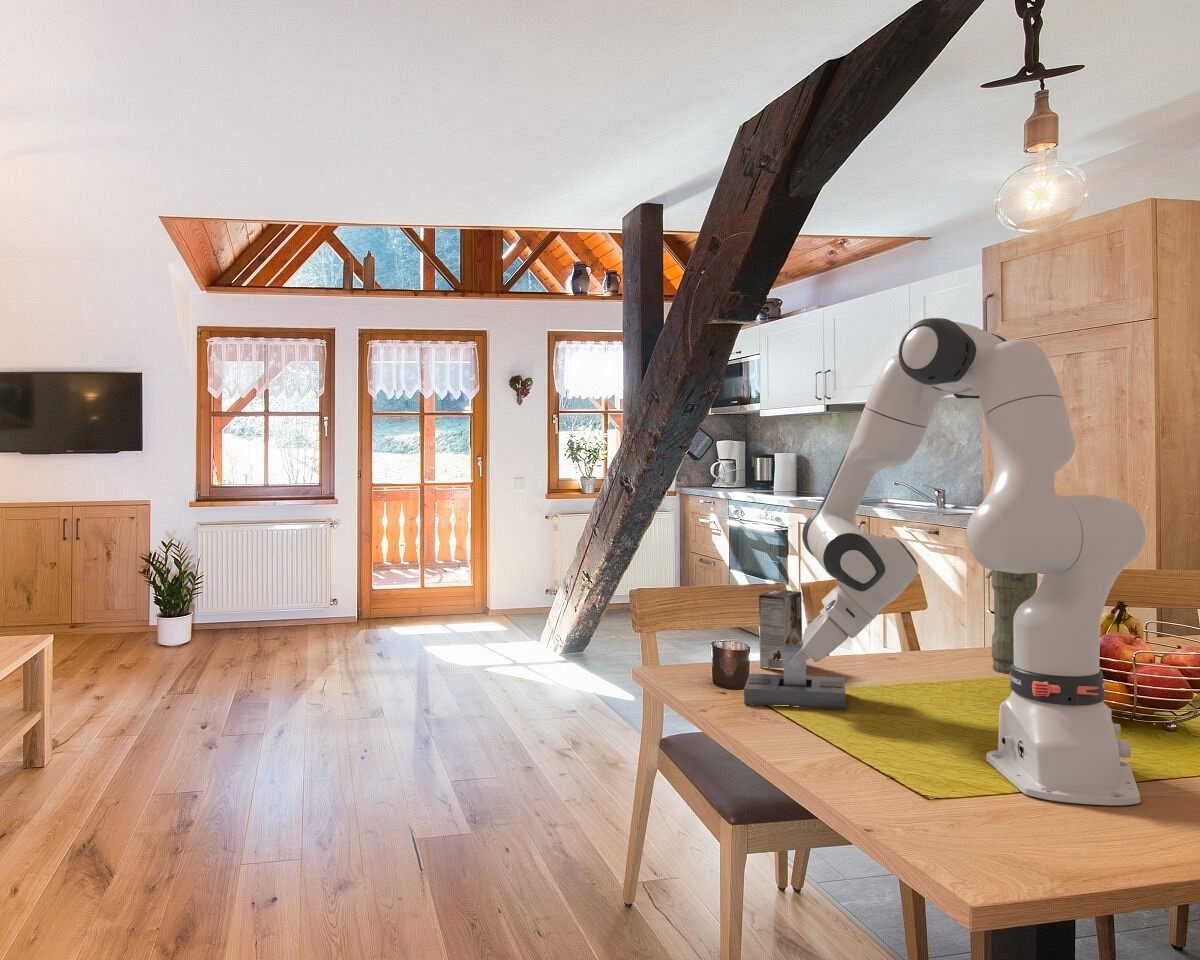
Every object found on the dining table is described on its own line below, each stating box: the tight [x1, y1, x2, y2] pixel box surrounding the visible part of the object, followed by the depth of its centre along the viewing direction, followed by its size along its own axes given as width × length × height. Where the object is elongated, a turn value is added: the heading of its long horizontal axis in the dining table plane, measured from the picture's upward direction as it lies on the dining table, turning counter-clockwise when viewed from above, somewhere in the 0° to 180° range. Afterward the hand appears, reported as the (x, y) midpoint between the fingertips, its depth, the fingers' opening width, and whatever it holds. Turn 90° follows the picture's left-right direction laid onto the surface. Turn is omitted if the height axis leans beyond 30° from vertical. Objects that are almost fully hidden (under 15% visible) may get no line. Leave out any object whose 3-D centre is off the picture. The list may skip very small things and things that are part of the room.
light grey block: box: [783, 643, 807, 687], centre depth 167 cm, size 4×4×9 cm
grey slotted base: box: [743, 673, 847, 711], centre depth 167 cm, size 12×18×3 cm, turn 76°
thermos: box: [990, 569, 1039, 675], centre depth 187 cm, size 9×12×35 cm
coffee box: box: [758, 589, 803, 668], centre depth 194 cm, size 9×6×16 cm
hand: (791, 662), depth 167 cm, fingers closed on light grey block, 4 cm apart
